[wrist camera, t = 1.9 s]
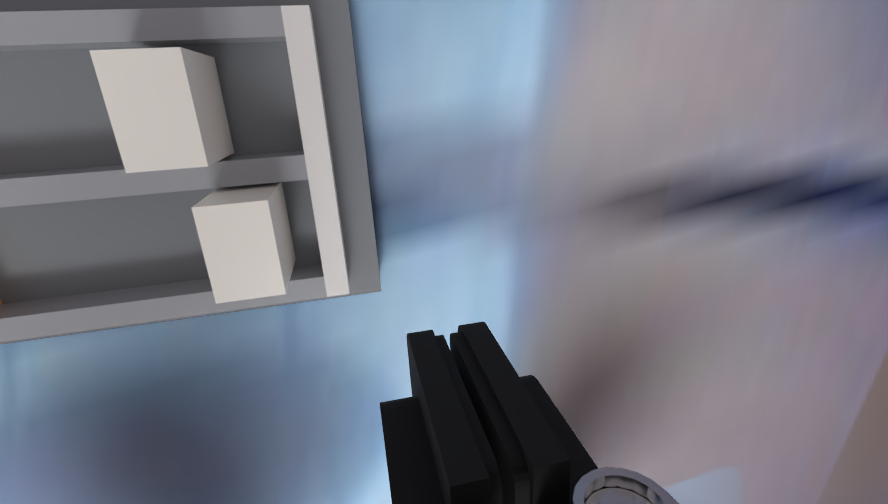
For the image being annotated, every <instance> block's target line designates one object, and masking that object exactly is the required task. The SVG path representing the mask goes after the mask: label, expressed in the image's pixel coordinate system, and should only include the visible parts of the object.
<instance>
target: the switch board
mask: <svg viewBox="0 0 888 504" xmlns="http://www.w3.org/2000/svg"><path fill="white" fill-rule="evenodd" d="M167 47H182V48H185V49H188V50H192V51H195V52H198V53H201V54H205V55H208V56H211V57H214V59H215V64H216V68H217V73H218V78H219V82H220V87H221V92H222V97H223V101H224V106H225V111H226V115H227V120H228V125H229V130H230V134H231V139H232V144H233V148H234V153H233V154H231V155H229V156H227V157H225V158H223V159H221V160H219V161H218V162H216V163H214V164H212V165H210V166H208V167H196V168H184V169H171V170H159V171H147V172H135V173H126V172H125V168H124V165H123V162H122V158H121V155H120V152H119V148H118V145H117V142H116V138H115V135H114V132H113V128H112V125H111V122H110V118H109V115H108V112H107V108H106V105H105V101H104V98H103V95H102V91H101V88H100V85H99V81H98V78H97V75H96V71H95V68H94V65H93V61H92V58H91V55H90V51H89V50H112V49H139V48H167ZM276 182H282V186H283V191H284V197H285V202H286V208H287V213H288V219H289V224H290V230H291V236H292V241H293V247H294V252H295V258H296V260H295V263H294V267H293V271H292V274H291V278H290V281H289V285H288V289H287V292H286V294H284V295H277V296H269V297H262V298H255V299H247V300H240V301H232V302H225V303H218V304H216V302H215V298H214V295H213V291H212V287H211V283H210V279H209V275H208V271H207V267H206V263H205V259H204V255H203V252H202V248H201V244H200V240H199V236H198V232H197V228H196V224H195V220H194V216H193V212H192V208H191V207H193V206H194V205H196V204H197V203H198V202H200V201H201V200H202V199H204V198H205V197H206V196H208V195H209V194H210V193H212V192H213V191H214V190H216V189H217V188H221V187H232V186H243V185H254V184H265V183H276ZM379 291H381V284H380V275H379V266H378V257H377V248H376V240H375V231H374V222H373V213H372V204H371V196H370V187H369V178H368V169H367V160H366V152H365V143H364V134H363V125H362V116H361V107H360V99H359V90H358V81H357V72H356V63H355V55H354V46H353V37H352V28H351V19H350V11H349V2H348V0H0V344H6V343H13V342H21V341H28V340H35V339H42V338H49V337H56V336H64V335H71V334H78V333H85V332H92V331H99V330H107V329H114V328H121V327H128V326H135V325H142V324H149V323H157V322H164V321H171V320H178V319H185V318H192V317H200V316H207V315H214V314H221V313H228V312H235V311H243V310H250V309H257V308H264V307H271V306H278V305H286V304H293V303H300V302H307V301H314V300H321V299H329V298H336V297H343V296H350V295H357V294H364V293H372V292H379Z"/></svg>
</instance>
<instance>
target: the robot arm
mask: <svg viewBox="0 0 888 504" xmlns="http://www.w3.org/2000/svg"><path fill="white" fill-rule="evenodd" d="M407 346H408V356H409V367H410V377H411V388H412V397H408V398H403V399H397V400H392V401H387V402H381V403H380V409H381V417H382V425H383V433H384V441H385V450H386V458H387V466H388V474H389V482H390V490H391V498H392V504H679V503H678V502H677V501H676V500H675V499H674V498H673V497H672V496H671V495H670V494H669V493H668V492H667V491H665V490H664V489H663V488H662V487H661V486H659V485H658V484H657V483H655V482H654V481H653V480H651V479H650V478H648V477H646V476H644V475H642V474H640V473H638V472H635V471H631V470H627V469H624V468H614V467H604V468H600V469H598V467H597V466H596V465H595V463H594V462H593V460H592V459H591V457H590V456H589V454H588V453H587V451H586V450H585V448H584V447H583V446H582V444H581V443H580V441H579V440H578V438H577V437H576V435H575V434H574V432H573V431H572V429H571V428H570V427H569V425H568V424H567V422H566V421H565V419H564V418H563V416H562V415H561V413H560V412H559V411H558V409H557V408H556V406H555V405H554V403H553V402H552V400H551V399H550V397H549V396H548V394H547V393H546V392H545V390H544V389H543V387H542V386H541V384H540V383H539V381H538V380H537V379H536V378H535V377H534V376H532V375H528V376H523V377H519V376H518V374H517V373H516V371H515V370H514V368H513V366H512V365H511V363H510V362H509V360H508V358H507V357H506V355H505V354H504V352H503V350H502V349H501V347H500V346H499V344H498V342H497V341H496V339H495V338H494V336H493V334H492V333H491V331H490V330H489V328H488V326H487V325H486V323H485V322H478V323H472V324H465V325H459V327H458V332H457V333H451V334H450V350H449V347H448V345H447V342H446V340H445V338H444V336H443V335H439V336H435V335H434V332H433V330H427V331H421V332H414V333H408V334H407ZM450 351H451V352H450Z"/></svg>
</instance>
